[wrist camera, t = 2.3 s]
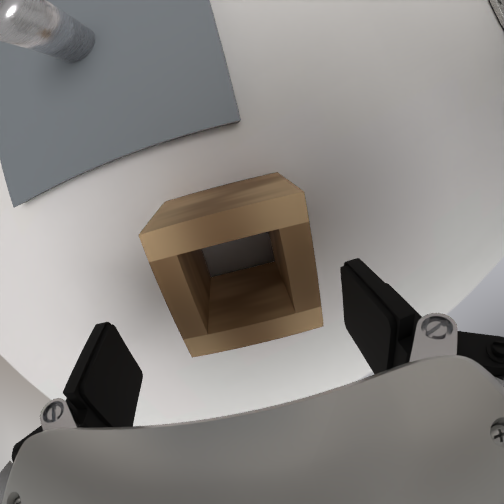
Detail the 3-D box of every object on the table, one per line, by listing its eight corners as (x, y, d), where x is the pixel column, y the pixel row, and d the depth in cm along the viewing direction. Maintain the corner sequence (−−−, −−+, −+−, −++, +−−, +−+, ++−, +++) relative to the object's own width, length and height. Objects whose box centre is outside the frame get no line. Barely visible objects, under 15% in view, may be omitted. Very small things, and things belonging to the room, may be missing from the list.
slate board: (188, -66, 9) (186, -77, 8) (239, 121, 15) (240, 120, 14) (0, 26, 9) (-11, 23, 8) (25, 202, 15) (13, 207, 14)
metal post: (93, 21, 10) (27, -24, 3) (97, 51, 11) (24, 14, 4) (60, 39, 10) (-15, 9, 3) (63, 69, 11) (-18, 49, 4)
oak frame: (277, 172, 17) (304, 191, 11) (297, 273, 20) (323, 326, 14) (164, 201, 17) (138, 235, 11) (198, 297, 20) (192, 357, 14)
